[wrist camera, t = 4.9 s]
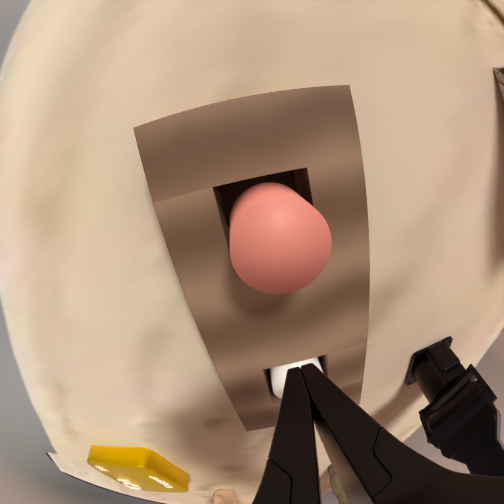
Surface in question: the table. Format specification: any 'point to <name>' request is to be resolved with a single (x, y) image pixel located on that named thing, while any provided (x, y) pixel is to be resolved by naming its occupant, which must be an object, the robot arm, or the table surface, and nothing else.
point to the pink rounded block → (277, 239)
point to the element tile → (138, 468)
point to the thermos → (337, 486)
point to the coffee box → (500, 78)
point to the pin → (280, 373)
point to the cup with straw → (224, 497)
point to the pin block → (218, 235)
